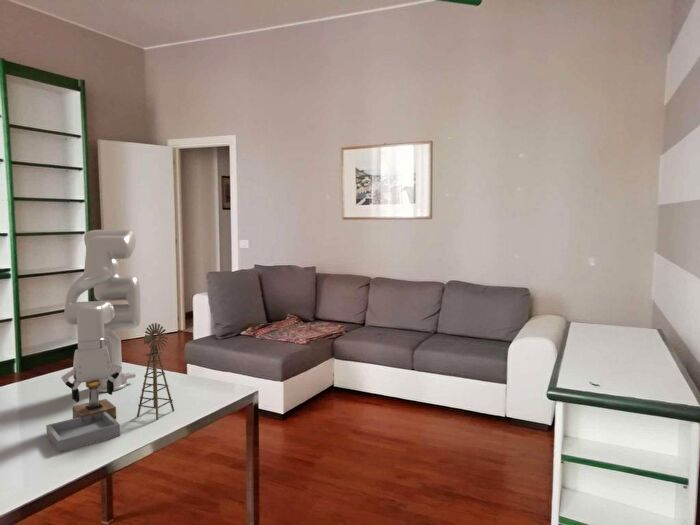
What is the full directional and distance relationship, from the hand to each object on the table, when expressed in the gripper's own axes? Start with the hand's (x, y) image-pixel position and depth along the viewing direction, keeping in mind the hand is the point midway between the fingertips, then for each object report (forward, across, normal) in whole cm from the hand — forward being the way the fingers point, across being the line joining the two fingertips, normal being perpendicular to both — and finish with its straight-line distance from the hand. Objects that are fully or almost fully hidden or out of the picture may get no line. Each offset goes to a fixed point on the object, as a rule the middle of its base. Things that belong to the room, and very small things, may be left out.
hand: (93, 397), depth 153 cm
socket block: (+7, 0, 0) cm, 7 cm away
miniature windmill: (+7, -16, +9) cm, 20 cm away
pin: (+7, 0, 0) cm, 7 cm away
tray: (+7, +6, +11) cm, 14 cm away
